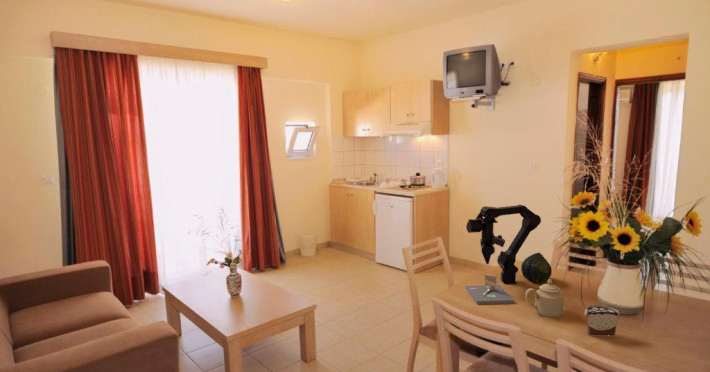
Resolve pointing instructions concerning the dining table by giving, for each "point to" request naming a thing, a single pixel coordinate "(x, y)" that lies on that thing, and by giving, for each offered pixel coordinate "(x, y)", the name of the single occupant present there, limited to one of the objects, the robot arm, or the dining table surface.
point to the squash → (536, 268)
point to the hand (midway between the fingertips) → (487, 261)
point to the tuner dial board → (489, 295)
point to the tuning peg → (490, 282)
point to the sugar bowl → (547, 300)
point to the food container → (601, 320)
